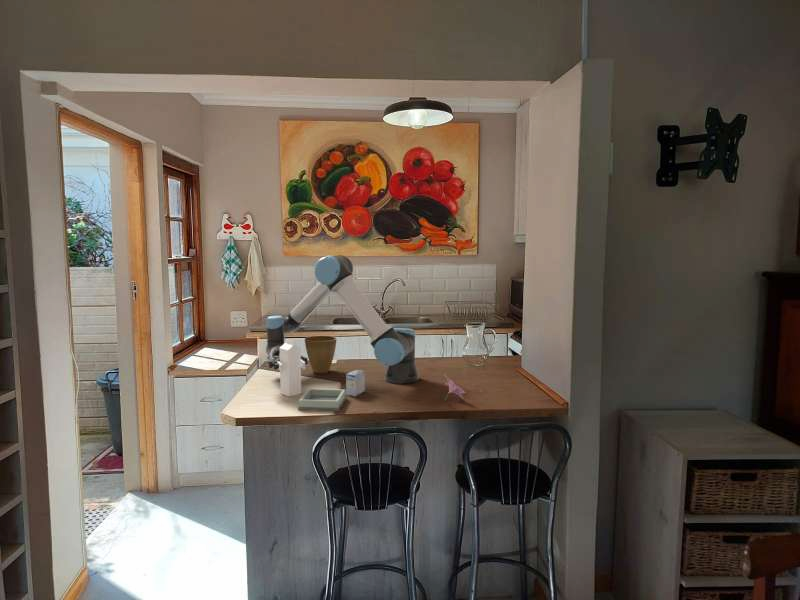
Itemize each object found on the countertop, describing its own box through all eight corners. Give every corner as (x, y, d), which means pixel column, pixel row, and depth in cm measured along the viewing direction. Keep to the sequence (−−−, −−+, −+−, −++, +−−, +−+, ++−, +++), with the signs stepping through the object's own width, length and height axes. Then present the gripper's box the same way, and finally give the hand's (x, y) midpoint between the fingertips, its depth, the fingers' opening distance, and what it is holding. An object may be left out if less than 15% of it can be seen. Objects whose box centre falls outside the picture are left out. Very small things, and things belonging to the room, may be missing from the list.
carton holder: (345, 398, 200) (345, 389, 199) (338, 411, 185) (338, 401, 185) (308, 397, 201) (308, 388, 200) (298, 410, 186) (298, 400, 186)
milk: (292, 390, 210) (291, 338, 208) (301, 393, 206) (300, 340, 204) (280, 393, 206) (279, 340, 203) (288, 396, 202) (287, 342, 199)
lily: (464, 409, 191) (473, 385, 193) (435, 396, 191) (445, 372, 193) (459, 408, 203) (468, 386, 205) (431, 396, 203) (441, 374, 205)
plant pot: (340, 373, 236) (340, 339, 235) (309, 376, 231) (308, 342, 229) (332, 366, 250) (331, 334, 248) (302, 369, 244) (301, 336, 242)
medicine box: (355, 389, 211) (355, 369, 210) (365, 391, 210) (365, 370, 208) (346, 395, 204) (345, 374, 203) (355, 396, 202) (355, 375, 201)
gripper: (304, 361, 226) (319, 373, 205) (256, 366, 217) (266, 379, 196) (304, 344, 225) (319, 355, 204) (255, 348, 216) (265, 360, 195)
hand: (293, 367), depth 200 cm, fingers open, 8 cm apart
